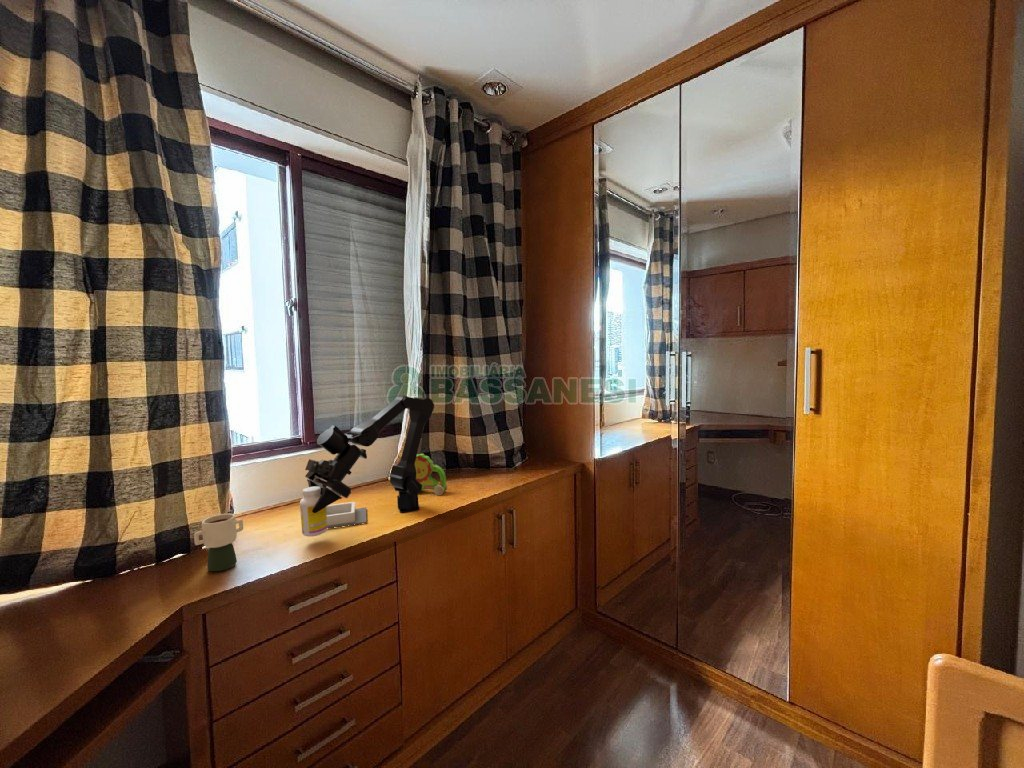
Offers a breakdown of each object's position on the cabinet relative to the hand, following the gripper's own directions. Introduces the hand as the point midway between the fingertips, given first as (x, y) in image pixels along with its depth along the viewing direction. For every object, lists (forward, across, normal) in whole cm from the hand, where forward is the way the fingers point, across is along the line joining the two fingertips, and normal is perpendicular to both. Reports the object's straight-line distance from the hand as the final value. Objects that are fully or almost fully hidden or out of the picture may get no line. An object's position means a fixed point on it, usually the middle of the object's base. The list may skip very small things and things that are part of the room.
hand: (308, 509), depth 121 cm
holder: (-2, -12, +16) cm, 20 cm away
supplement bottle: (+4, 0, +6) cm, 7 cm away
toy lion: (-26, -11, +42) cm, 51 cm away
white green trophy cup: (+22, -4, -8) cm, 23 cm away
